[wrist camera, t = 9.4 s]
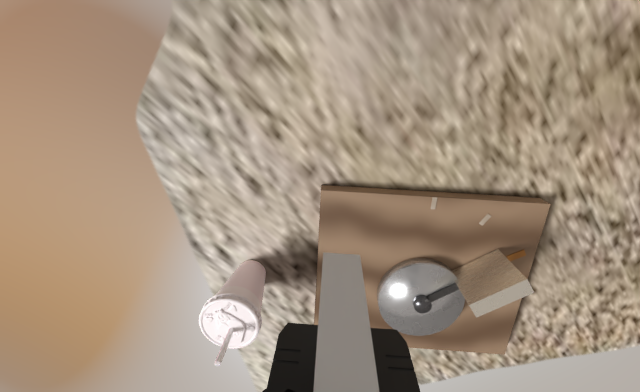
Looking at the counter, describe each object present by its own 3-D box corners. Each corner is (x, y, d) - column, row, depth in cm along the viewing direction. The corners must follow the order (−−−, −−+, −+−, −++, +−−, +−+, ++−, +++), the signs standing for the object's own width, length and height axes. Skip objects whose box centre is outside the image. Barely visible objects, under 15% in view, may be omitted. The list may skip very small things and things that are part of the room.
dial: (483, 220, 36) (511, 246, 30) (517, 286, 38) (548, 321, 33) (361, 281, 39) (366, 315, 34) (400, 338, 42) (411, 378, 36)
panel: (321, 184, 38) (320, 190, 36) (539, 197, 37) (551, 204, 35) (314, 329, 45) (313, 341, 43) (497, 342, 44) (504, 354, 42)
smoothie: (244, 300, 44) (205, 394, 30) (217, 262, 42) (163, 346, 29) (285, 281, 42) (262, 372, 29) (259, 242, 41) (223, 320, 27)
